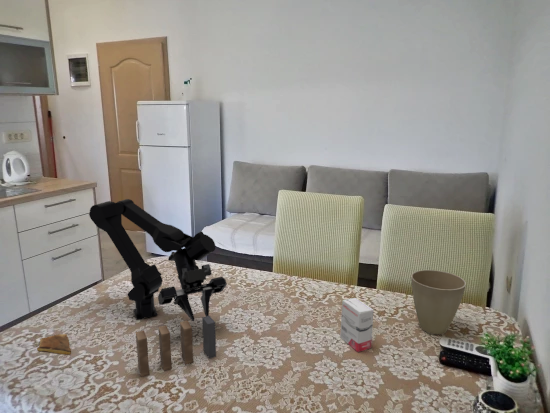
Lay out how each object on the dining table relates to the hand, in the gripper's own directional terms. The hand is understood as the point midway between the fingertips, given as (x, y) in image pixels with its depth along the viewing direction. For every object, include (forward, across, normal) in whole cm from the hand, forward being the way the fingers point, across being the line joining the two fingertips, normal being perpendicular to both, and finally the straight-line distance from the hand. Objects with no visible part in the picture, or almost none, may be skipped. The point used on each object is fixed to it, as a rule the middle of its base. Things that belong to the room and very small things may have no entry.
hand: (200, 319), depth 111 cm
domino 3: (+9, -6, +1) cm, 11 cm away
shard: (-7, -34, +19) cm, 39 cm away
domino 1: (+9, -17, +2) cm, 19 cm away
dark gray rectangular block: (+9, 0, +1) cm, 9 cm away
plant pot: (+23, +64, -13) cm, 69 cm away
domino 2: (+9, -11, +2) cm, 14 cm away
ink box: (+20, +38, -9) cm, 44 cm away
